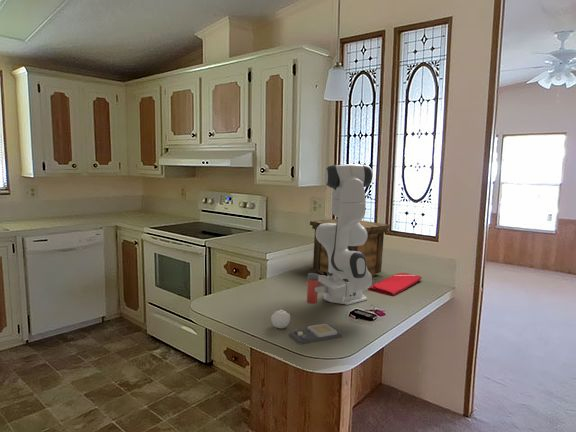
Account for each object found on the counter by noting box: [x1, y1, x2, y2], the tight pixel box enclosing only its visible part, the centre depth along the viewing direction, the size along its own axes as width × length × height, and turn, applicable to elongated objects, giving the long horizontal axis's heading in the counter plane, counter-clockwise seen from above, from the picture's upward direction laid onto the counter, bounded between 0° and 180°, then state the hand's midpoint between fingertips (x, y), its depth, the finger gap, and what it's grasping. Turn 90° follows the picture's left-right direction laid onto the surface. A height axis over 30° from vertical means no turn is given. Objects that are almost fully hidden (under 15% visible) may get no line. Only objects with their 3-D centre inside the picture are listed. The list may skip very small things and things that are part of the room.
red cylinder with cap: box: [306, 272, 320, 305], centre depth 173 cm, size 4×4×12 cm
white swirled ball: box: [270, 309, 291, 329], centre depth 171 cm, size 8×8×8 cm
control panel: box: [288, 323, 343, 345], centre depth 165 cm, size 19×9×2 cm, turn 117°
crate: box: [309, 218, 391, 277], centre depth 259 cm, size 35×35×33 cm
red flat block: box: [367, 272, 423, 297], centre depth 241 cm, size 16×41×4 cm, turn 141°
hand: (310, 287), depth 172 cm, fingers closed on red cylinder with cap, 4 cm apart
